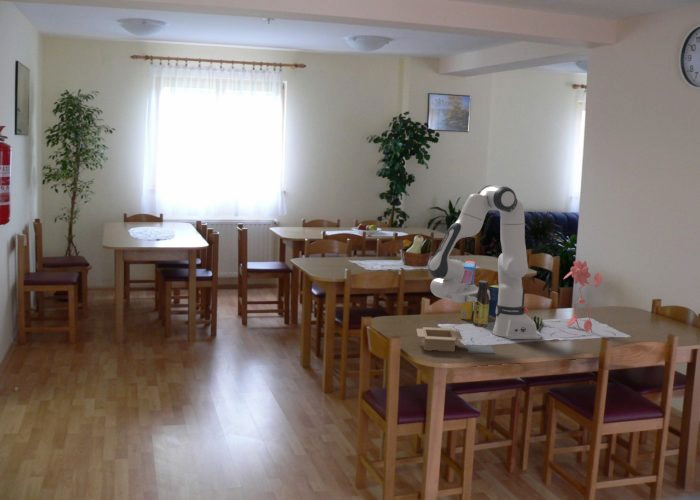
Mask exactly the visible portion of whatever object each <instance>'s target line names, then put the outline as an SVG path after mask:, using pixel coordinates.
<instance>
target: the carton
mask: <svg viewBox="0 0 700 500" xmlns="http://www.w3.org/2000/svg"><path fill="white" fill-rule="evenodd" d="M415 330H416V334H417V337H418V338H421V339H422V340H421V341H422V347H423V350H424V351H432V350H438V352H455V348H456V342H457V340H463V336H462V334H461V332H460V330H458V329H453V328H448V327H430V326H427V327H426V326H425V327H424V326H422V328H416V329H415Z"/></svg>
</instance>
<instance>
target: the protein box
mask: <svg viewBox="0 0 700 500" xmlns="http://www.w3.org/2000/svg"><path fill="white" fill-rule="evenodd" d="M488 286H489V288H488V290H489V291H490V300H489V312H488V316H492V317H494V318H496V307H497V303H498V292H499V283H498V284H492V285H488ZM525 289H526V288H523V293H522V306H524V304H525V294H526V293H525V292H526V291H525ZM524 307H525V306H524Z"/></svg>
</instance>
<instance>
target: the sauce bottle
mask: <svg viewBox="0 0 700 500" xmlns="http://www.w3.org/2000/svg"><path fill="white" fill-rule="evenodd" d="M488 286H489V281H488V280H479V281H478V287H479V289H478V292H477V295H476V297H477V298H478V302H473V319H472V321H473V323H472V324H473V326H475V327H477V328H485V327H487V326H488V324H489V323H488V322H489V315H488V312H489V295H488V293H487V290H488Z"/></svg>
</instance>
